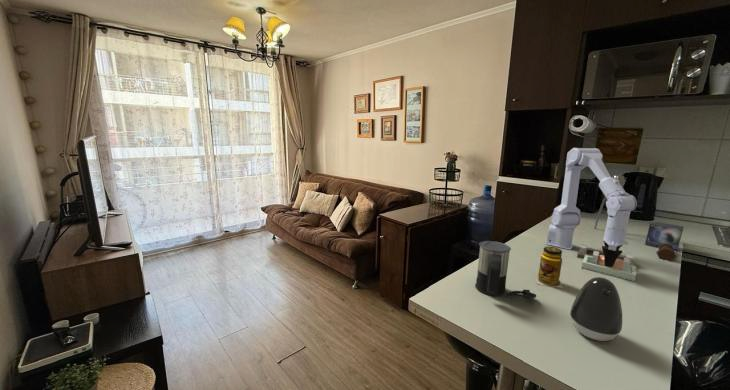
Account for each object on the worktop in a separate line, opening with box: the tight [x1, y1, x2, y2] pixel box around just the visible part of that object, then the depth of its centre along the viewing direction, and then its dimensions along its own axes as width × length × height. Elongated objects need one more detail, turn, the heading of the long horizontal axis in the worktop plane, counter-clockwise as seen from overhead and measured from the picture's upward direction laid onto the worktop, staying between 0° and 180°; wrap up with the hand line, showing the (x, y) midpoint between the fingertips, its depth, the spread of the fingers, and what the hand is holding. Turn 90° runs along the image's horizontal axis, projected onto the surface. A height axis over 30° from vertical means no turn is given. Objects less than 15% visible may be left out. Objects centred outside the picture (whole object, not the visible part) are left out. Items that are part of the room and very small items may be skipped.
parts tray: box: [581, 255, 637, 282], centre depth 110 cm, size 15×9×2 cm, turn 49°
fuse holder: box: [576, 243, 634, 266], centre depth 119 cm, size 17×11×4 cm, turn 49°
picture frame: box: [644, 220, 684, 253], centre depth 133 cm, size 11×6×10 cm, turn 41°
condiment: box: [533, 245, 564, 289], centre depth 100 cm, size 7×8×12 cm
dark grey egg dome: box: [569, 276, 623, 342], centre depth 73 cm, size 10×10×15 cm
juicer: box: [594, 174, 626, 230], centre depth 148 cm, size 10×11×30 cm
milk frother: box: [474, 240, 537, 299], centre depth 92 cm, size 14×16×15 cm
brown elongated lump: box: [656, 243, 678, 262], centre depth 124 cm, size 6×5×15 cm
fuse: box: [591, 251, 630, 272], centre depth 109 cm, size 10×5×5 cm, turn 49°
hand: (609, 263), depth 109 cm, fingers open, 7 cm apart
